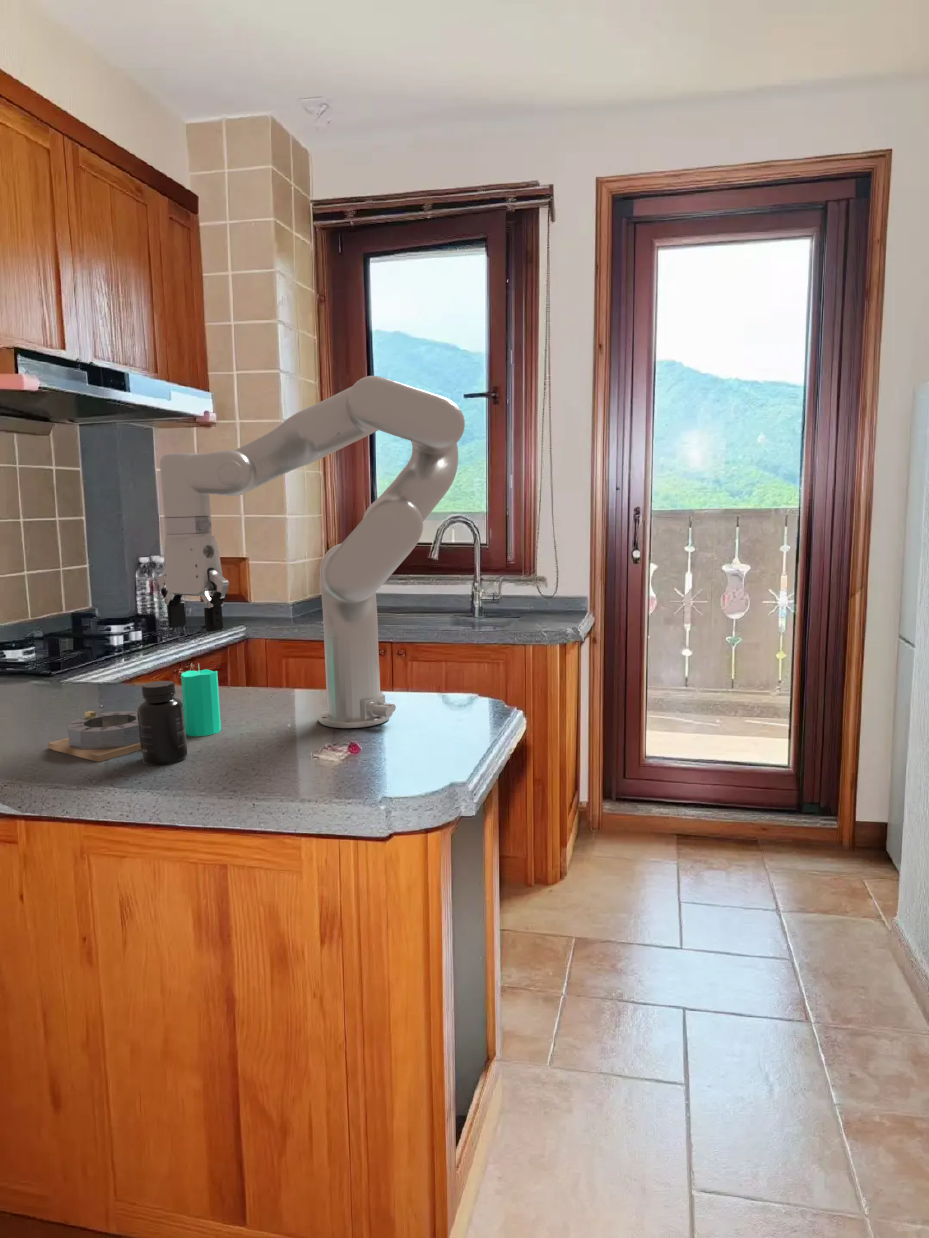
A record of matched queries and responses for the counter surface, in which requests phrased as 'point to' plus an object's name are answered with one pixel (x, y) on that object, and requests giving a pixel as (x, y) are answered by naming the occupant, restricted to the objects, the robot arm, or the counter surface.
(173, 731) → the supplement bottle
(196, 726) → the candle
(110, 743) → the steel collar
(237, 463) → the robot arm
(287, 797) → the counter surface
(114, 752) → the oak board
